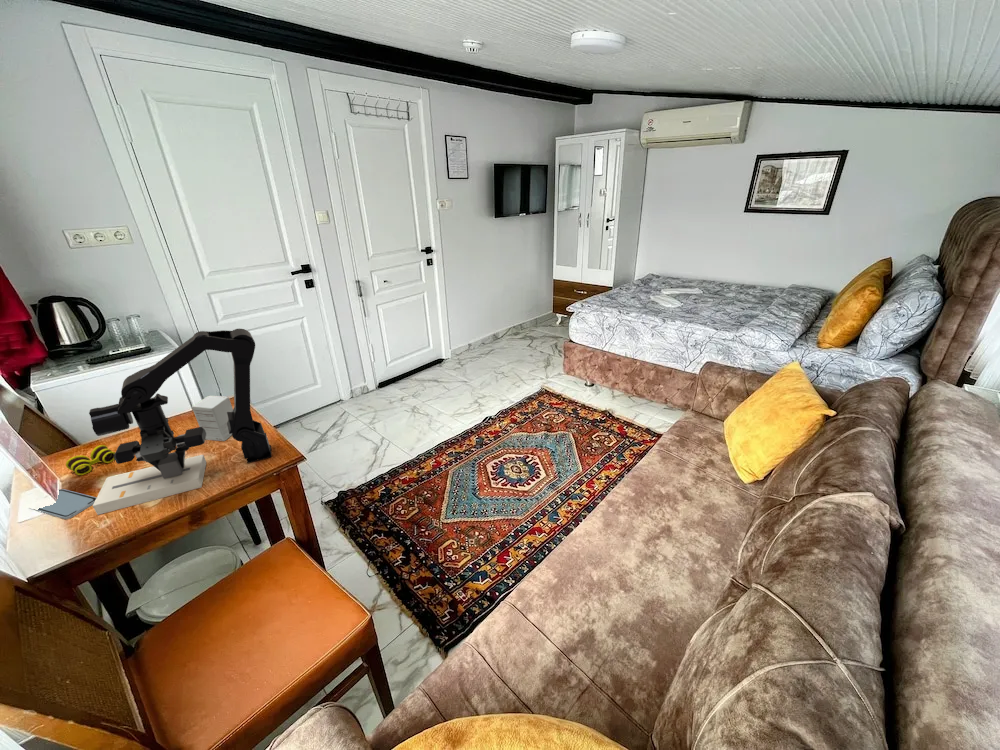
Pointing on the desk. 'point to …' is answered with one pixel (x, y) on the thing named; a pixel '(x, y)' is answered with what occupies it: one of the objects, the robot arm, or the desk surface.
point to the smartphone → (68, 504)
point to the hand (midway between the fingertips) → (173, 469)
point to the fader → (170, 466)
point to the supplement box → (213, 416)
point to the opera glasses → (97, 455)
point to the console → (148, 485)
